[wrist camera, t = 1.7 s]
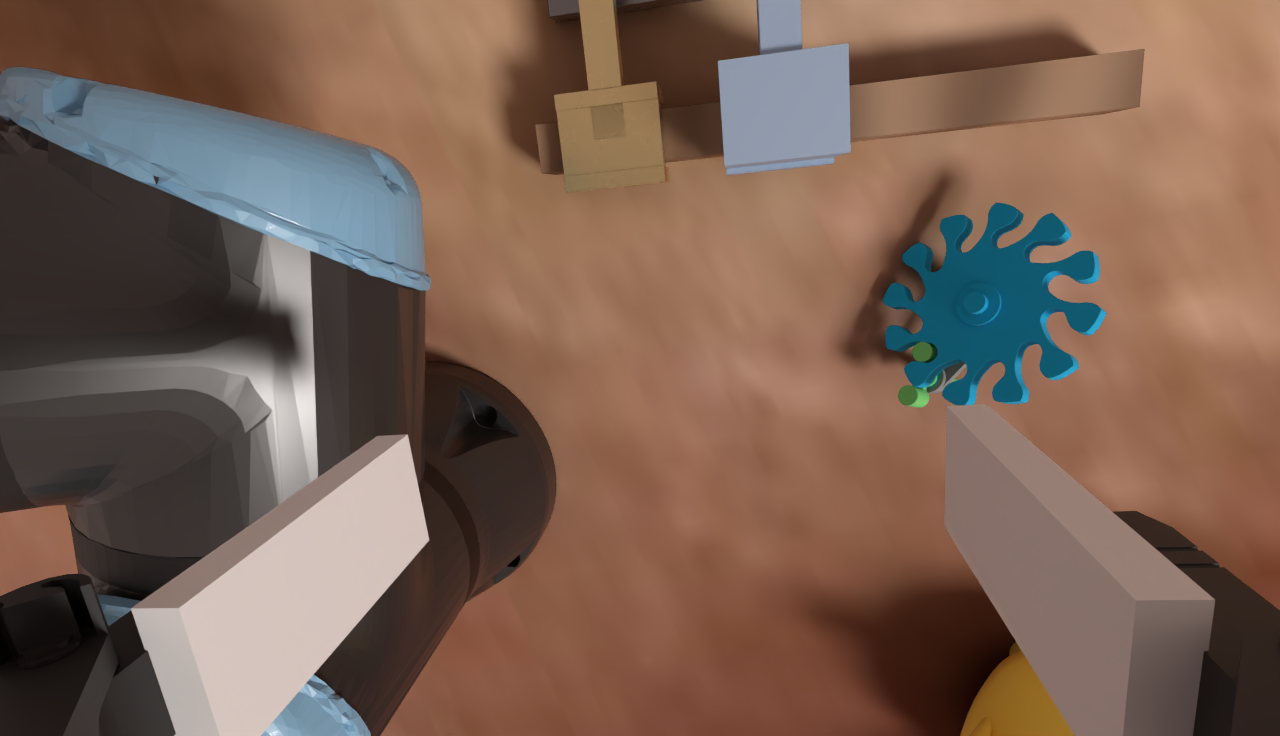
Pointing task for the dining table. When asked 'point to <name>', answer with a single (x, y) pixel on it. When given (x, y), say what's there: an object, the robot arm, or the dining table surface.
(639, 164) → the fixed leg
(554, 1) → the hole plate
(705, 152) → the beam
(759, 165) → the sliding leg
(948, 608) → the dining table surface
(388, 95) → the dining table surface
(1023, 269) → the gear
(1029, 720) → the teapot
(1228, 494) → the dining table surface
